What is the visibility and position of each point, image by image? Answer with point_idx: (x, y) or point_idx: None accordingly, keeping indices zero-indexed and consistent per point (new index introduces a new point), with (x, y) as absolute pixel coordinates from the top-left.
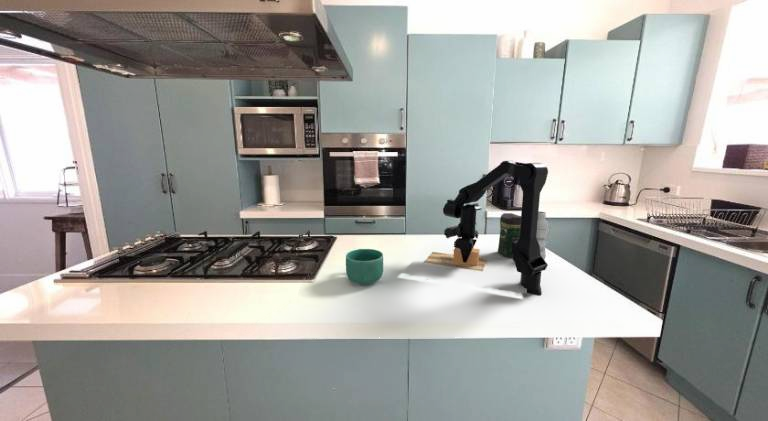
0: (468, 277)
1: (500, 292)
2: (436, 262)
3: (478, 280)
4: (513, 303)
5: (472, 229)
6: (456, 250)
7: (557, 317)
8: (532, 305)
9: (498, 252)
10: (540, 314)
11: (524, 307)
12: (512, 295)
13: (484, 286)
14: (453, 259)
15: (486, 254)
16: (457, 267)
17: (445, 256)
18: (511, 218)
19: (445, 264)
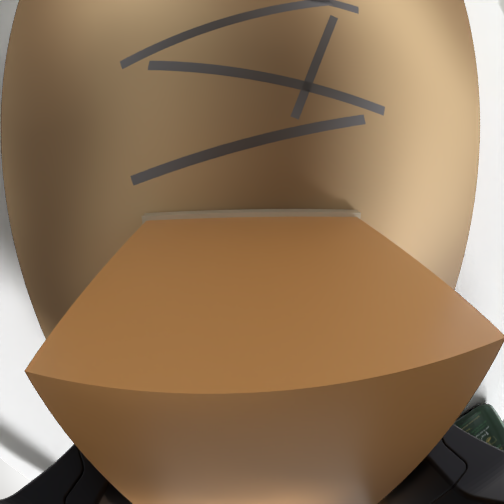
0: (24, 362)
1: (22, 442)
2: (58, 16)
3: (36, 403)
4: (2, 445)
5: None
6: (69, 424)
7: (30, 480)
8: (32, 471)
9: (476, 423)
10: (14, 466)
11: (9, 456)
12: (35, 459)
13: (11, 412)
14: (136, 232)
15: (500, 360)
16: (31, 301)
17: (380, 50)
18: None
19: (26, 146)
